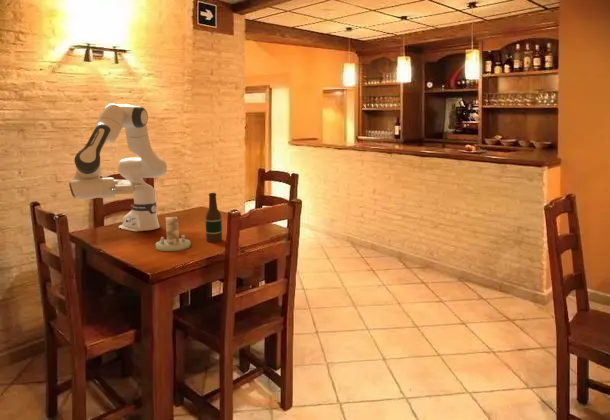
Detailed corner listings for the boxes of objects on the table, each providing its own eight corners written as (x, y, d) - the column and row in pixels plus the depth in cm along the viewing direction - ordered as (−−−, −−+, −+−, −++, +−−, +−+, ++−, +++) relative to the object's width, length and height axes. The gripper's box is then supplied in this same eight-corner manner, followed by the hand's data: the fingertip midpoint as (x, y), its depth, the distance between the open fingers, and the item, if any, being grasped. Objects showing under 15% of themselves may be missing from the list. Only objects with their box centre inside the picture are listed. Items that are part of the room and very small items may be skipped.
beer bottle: (214, 237, 250) (212, 191, 246) (225, 240, 246) (223, 192, 241) (203, 241, 244) (201, 193, 239) (214, 243, 240) (212, 195, 235)
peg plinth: (158, 252, 223) (157, 242, 222) (154, 244, 238) (153, 234, 237) (193, 249, 230) (192, 238, 229) (187, 241, 244) (186, 231, 243)
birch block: (168, 244, 230) (167, 219, 228) (166, 241, 235) (165, 217, 232) (179, 243, 232) (178, 218, 230) (177, 240, 237) (176, 216, 234)
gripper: (110, 183, 208) (144, 181, 213) (108, 177, 226) (140, 176, 232) (111, 198, 209) (145, 196, 215) (109, 191, 228) (141, 189, 233)
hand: (142, 185), depth 223 cm, fingers open, 8 cm apart
